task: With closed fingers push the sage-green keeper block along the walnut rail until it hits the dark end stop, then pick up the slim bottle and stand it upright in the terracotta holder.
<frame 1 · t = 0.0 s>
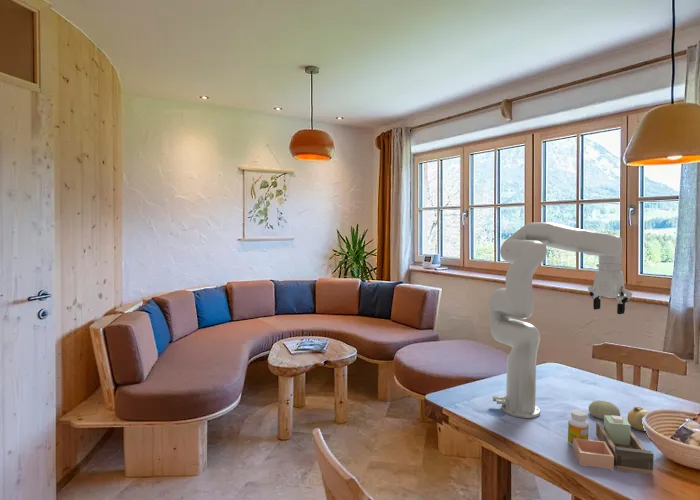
hand: (608, 311, 168), 31 cm above the table, tool pointing down, fingers open, 9 cm apart
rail: (621, 452, 123), on the table
keeper: (616, 428, 128), point 5 cm above the table, slide at 0.0 cm
holder: (592, 459, 120), on the table
supplement bottle: (577, 444, 128), on the table
sea urchin shell: (604, 417, 147), on the table
onion: (642, 429, 138), on the table
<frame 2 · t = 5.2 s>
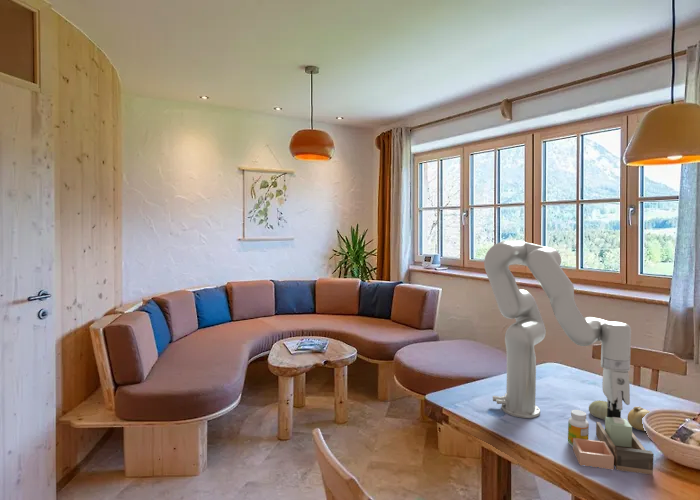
hand: (613, 422, 131), 5 cm above the table, tool pointing down, fingers closed
keeper: (618, 430, 127), point 5 cm above the table, slide at 1.2 cm, touching gripper
everything else where it was.
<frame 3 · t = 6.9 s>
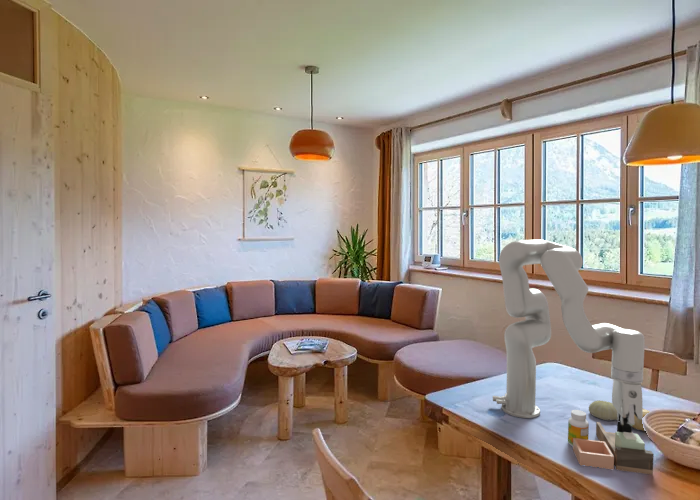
hand: (624, 437, 122), 5 cm above the table, tool pointing down, fingers closed
keeper: (629, 446, 118), point 5 cm above the table, slide at 10.7 cm, touching gripper, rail
everything else where it was.
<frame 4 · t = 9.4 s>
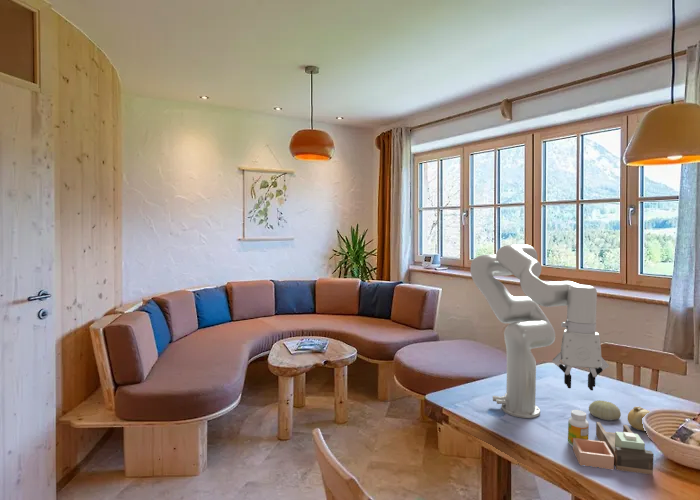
hand: (579, 387, 127), 17 cm above the table, tool pointing down, fingers open, 5 cm apart
keeper: (629, 446, 118), point 5 cm above the table, slide at 10.7 cm, touching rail
everything else where it was.
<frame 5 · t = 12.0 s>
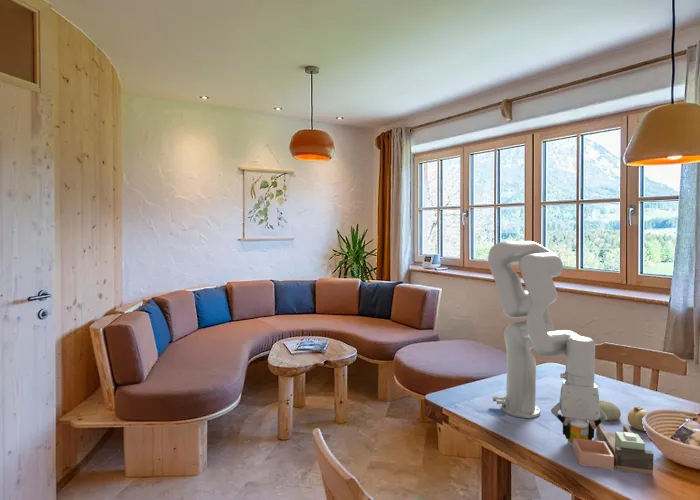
hand: (578, 437, 128), 2 cm above the table, tool pointing down, fingers closed on supplement bottle, 5 cm apart
supplement bottle: (577, 444, 128), on the table, touching gripper
everything else where it was.
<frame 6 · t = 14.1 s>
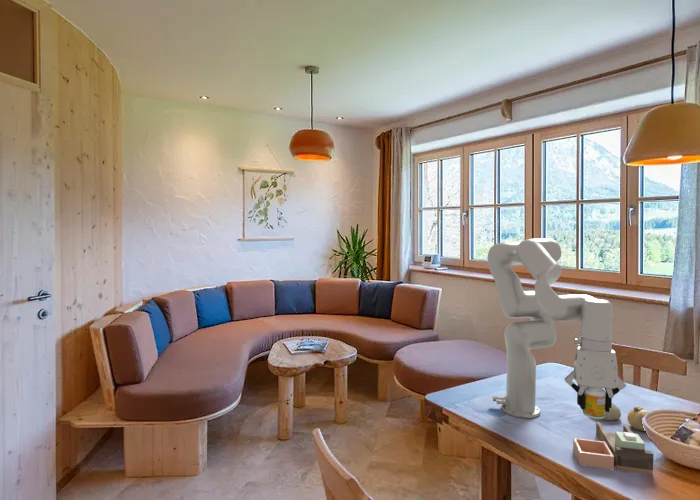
hand: (593, 408, 119), 15 cm above the table, tool pointing down, fingers closed on supplement bottle, 5 cm apart
supplement bottle: (593, 415, 119), point 12 cm above the table, touching gripper
everything else where it was.
when the fingers open (4 cm above the table, at t = 16.4 s): supplement bottle drops 1 cm, resting on holder.
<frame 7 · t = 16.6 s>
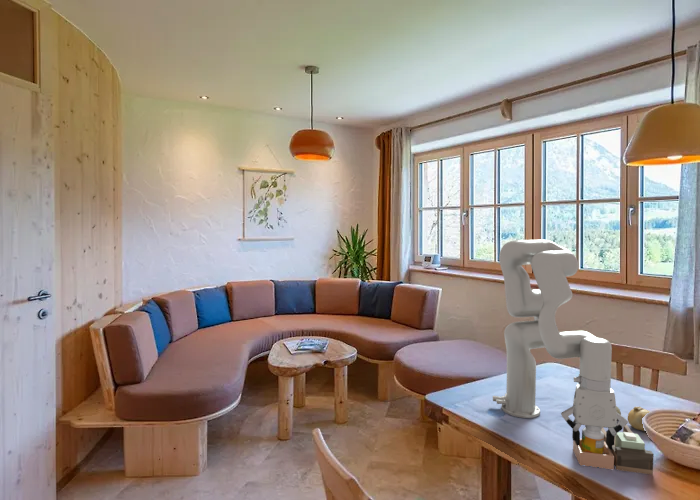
hand: (592, 444, 120), 4 cm above the table, tool pointing down, fingers open, 7 cm apart
supplement bottle: (592, 457, 120), resting on holder
everything else where it was.
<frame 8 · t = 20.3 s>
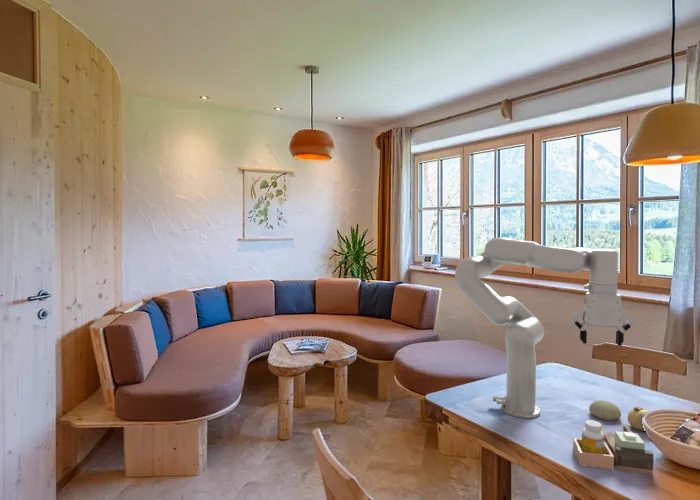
hand: (601, 343, 134), 28 cm above the table, tool pointing down, fingers open, 9 cm apart
keeper: (629, 446, 118), point 5 cm above the table, slide at 10.5 cm
everything else where it was.
at the end: keeper slide at 10.5 cm; supplement bottle 0.1 cm from the holder (horizontally); supplement bottle tilted 0° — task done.
